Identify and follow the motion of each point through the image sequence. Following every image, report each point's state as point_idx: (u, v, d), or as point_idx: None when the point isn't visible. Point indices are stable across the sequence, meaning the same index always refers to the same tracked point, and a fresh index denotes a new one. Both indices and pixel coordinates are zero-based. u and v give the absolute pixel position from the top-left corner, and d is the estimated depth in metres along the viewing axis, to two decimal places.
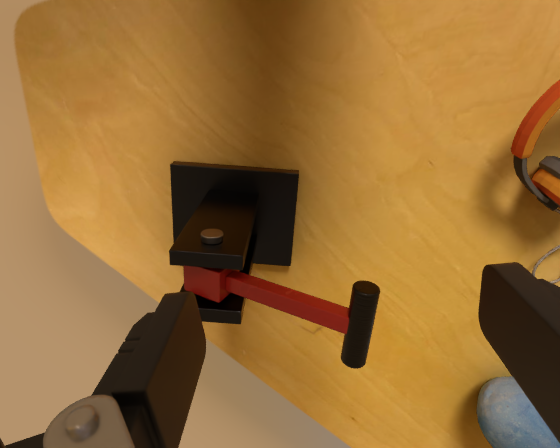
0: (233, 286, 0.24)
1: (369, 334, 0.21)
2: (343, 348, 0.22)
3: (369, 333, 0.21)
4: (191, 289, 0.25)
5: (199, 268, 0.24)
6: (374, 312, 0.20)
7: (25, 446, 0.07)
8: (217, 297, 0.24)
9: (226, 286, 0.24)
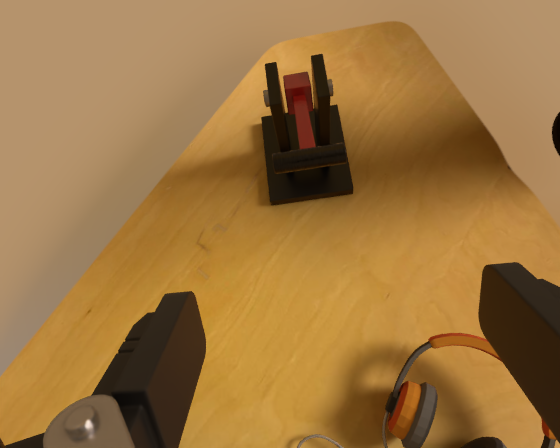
0: (299, 98, 0.32)
1: (307, 161, 0.26)
2: (285, 152, 0.27)
3: (308, 160, 0.26)
4: (286, 77, 0.33)
5: (307, 77, 0.33)
6: (328, 158, 0.26)
7: (25, 446, 0.07)
8: (289, 87, 0.32)
9: (296, 95, 0.32)
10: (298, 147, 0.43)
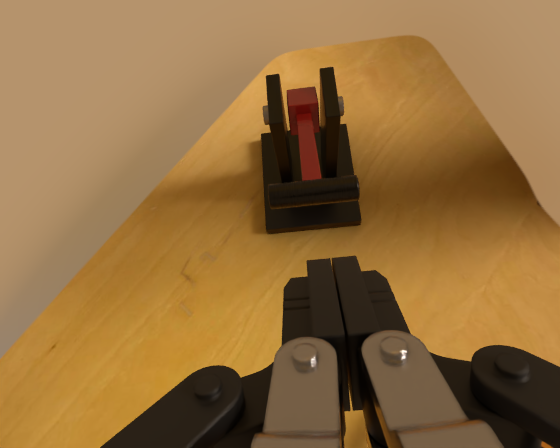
0: (304, 117, 0.27)
1: (310, 196, 0.21)
2: (284, 183, 0.22)
3: (312, 195, 0.21)
4: (290, 92, 0.29)
5: (314, 93, 0.28)
6: (336, 194, 0.21)
7: (246, 382, 0.08)
8: (293, 104, 0.27)
9: (301, 114, 0.27)
10: (300, 169, 0.38)
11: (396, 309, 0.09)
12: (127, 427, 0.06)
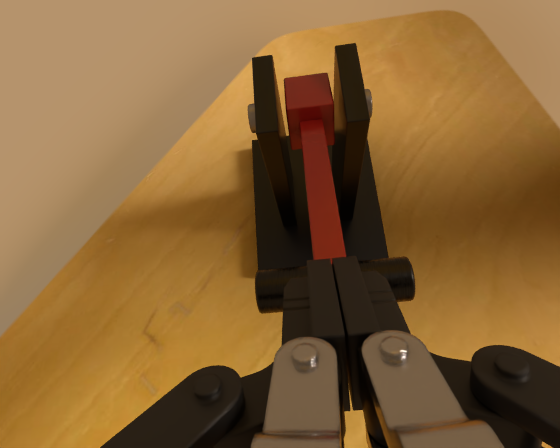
0: (311, 127, 0.17)
1: None
2: (283, 268, 0.13)
3: None
4: (289, 83, 0.19)
5: (327, 86, 0.18)
6: None
7: (246, 382, 0.08)
8: (294, 106, 0.17)
9: (307, 120, 0.18)
10: (305, 189, 0.28)
11: (396, 309, 0.09)
12: (127, 427, 0.06)
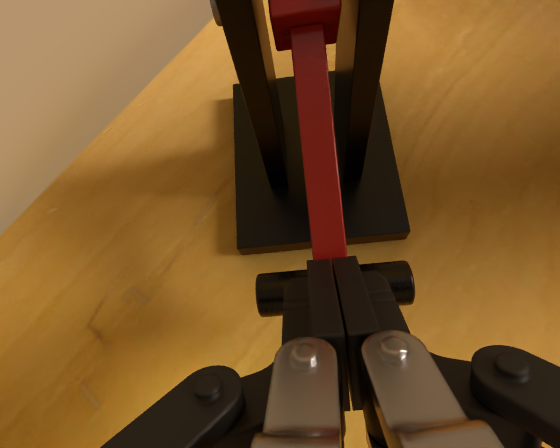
0: (307, 42, 0.12)
1: None
2: (283, 278, 0.12)
3: None
4: None
5: None
6: None
7: (246, 382, 0.08)
8: (283, 10, 0.12)
9: (300, 27, 0.12)
10: (299, 142, 0.22)
11: (396, 309, 0.09)
12: (127, 427, 0.06)
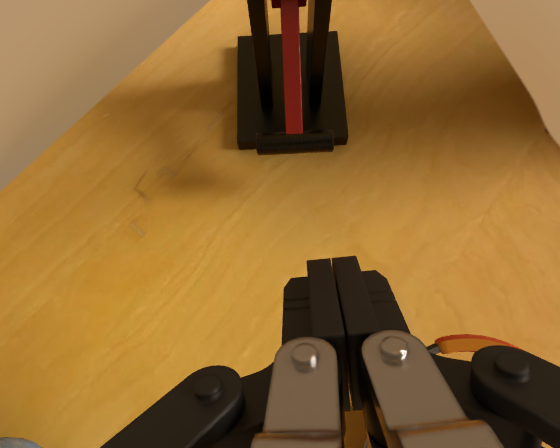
0: (289, 7, 0.23)
1: (292, 152, 0.25)
2: (269, 134, 0.24)
3: (293, 152, 0.25)
4: None
5: None
6: (314, 152, 0.25)
7: (246, 382, 0.08)
8: None
9: None
10: (281, 78, 0.33)
11: (396, 309, 0.09)
12: (127, 427, 0.06)
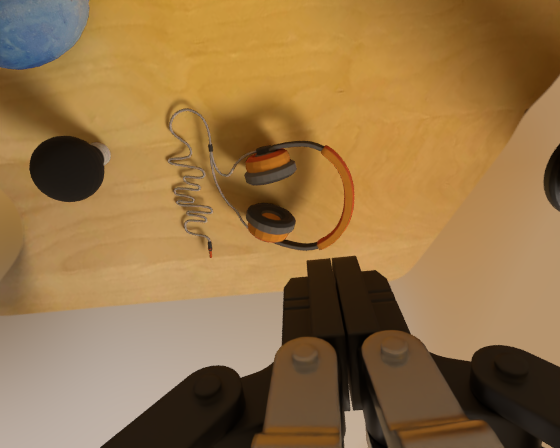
0: None
1: None
2: None
3: None
4: None
5: None
6: None
7: (246, 382, 0.08)
8: None
9: None
10: None
11: (396, 309, 0.09)
12: (127, 427, 0.06)
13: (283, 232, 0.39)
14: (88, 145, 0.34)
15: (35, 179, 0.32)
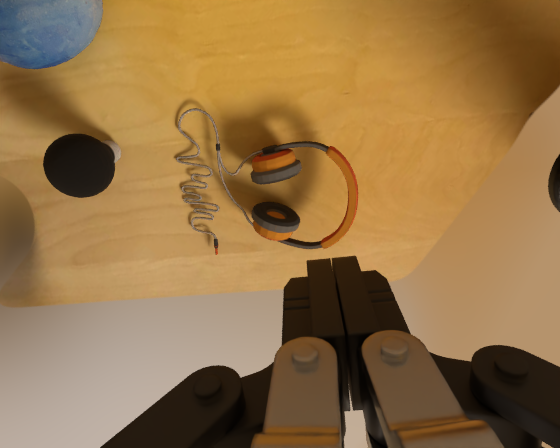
0: None
1: None
2: None
3: None
4: None
5: None
6: None
7: (246, 382, 0.08)
8: None
9: None
10: None
11: (396, 309, 0.09)
12: (127, 427, 0.06)
13: (287, 230, 0.40)
14: (100, 143, 0.35)
15: (48, 175, 0.33)
